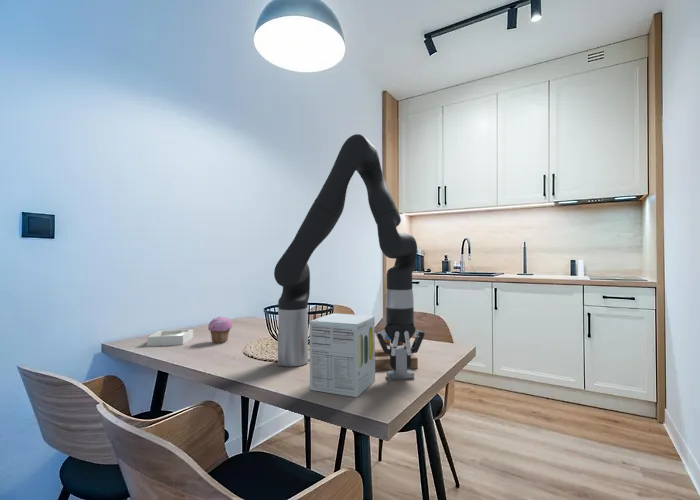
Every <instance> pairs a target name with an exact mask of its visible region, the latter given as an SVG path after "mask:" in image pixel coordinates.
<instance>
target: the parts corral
mask: <svg viewBox="0 0 700 500" xmlns="http://www.w3.org/2000/svg"><path fill="white" fill-rule="evenodd" d="M182 331H185V332H186V333H184V334H182V335H171V336H164V335H168V334H175V333H180V332H182ZM193 338H194V329H193V328H192V329H167V330H166V329H165V330H164V329H162V330H161V329H160V330H158V331H156V332H154V333H152V334H151V335H149V336H147V339H146V340H147V341H146V342H147V344H146V345H147V347H148V346H149V347H157V346H159V347H161V345H162V346H183V345H184V344H186V343H188V342H189V341H190V340H192V339H193Z"/></svg>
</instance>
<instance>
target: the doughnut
mask: <svg viewBox="0 0 700 500" xmlns="http://www.w3.org/2000/svg"><path fill="white" fill-rule="evenodd" d="M390 340H391V339H390V338H389V337H388V335H387V334H385V339H384V341H385V344H386V345H387V344H388V345H390ZM397 345H403V343H402V342H401V343H398V344H397Z"/></svg>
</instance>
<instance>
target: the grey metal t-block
mask: <svg viewBox="0 0 700 500" xmlns="http://www.w3.org/2000/svg"><path fill="white" fill-rule="evenodd" d="M395 356H396V370H386V377H387V379H388V380H389V381H396V380H397V381H398V380H414V379H415V372H414V371H413V370H411V369H407V349H406V348H405V347H404V346H397V348H396V354H395Z"/></svg>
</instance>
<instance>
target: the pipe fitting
mask: <svg viewBox="0 0 700 500" xmlns="http://www.w3.org/2000/svg"><path fill="white" fill-rule="evenodd" d="M184 333H186V332H185V331H182V332H180V333H175V334H168V335H164V336H171V335H182V334H184Z"/></svg>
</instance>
